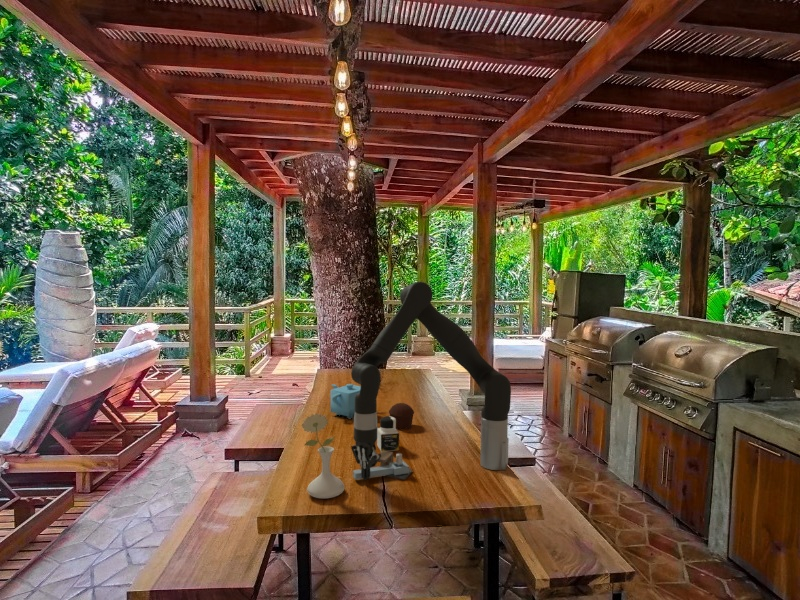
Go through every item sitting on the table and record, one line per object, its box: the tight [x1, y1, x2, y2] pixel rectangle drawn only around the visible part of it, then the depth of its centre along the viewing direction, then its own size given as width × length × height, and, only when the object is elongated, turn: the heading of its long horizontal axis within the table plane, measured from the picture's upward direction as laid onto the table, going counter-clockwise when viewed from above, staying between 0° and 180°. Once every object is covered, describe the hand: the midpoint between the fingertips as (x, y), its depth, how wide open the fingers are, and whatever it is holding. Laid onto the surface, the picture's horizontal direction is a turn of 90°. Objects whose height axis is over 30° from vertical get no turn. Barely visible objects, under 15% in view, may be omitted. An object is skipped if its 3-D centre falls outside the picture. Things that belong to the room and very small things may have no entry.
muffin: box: [388, 402, 415, 430], centre depth 205 cm, size 12×11×10 cm
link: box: [352, 460, 410, 481], centre depth 154 cm, size 18×5×2 cm, turn 111°
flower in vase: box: [301, 413, 345, 499], centre depth 142 cm, size 13×11×25 cm
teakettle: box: [330, 383, 361, 420], centre depth 222 cm, size 19×19×15 cm
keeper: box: [377, 451, 394, 466], centre depth 159 cm, size 4×7×5 cm, turn 157°
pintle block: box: [384, 452, 413, 481], centre depth 156 cm, size 7×7×7 cm
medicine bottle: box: [376, 415, 400, 453], centre depth 179 cm, size 7×7×12 cm
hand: (365, 478), depth 149 cm, fingers closed
